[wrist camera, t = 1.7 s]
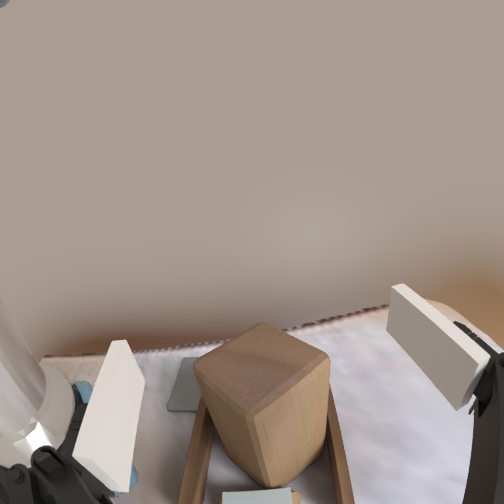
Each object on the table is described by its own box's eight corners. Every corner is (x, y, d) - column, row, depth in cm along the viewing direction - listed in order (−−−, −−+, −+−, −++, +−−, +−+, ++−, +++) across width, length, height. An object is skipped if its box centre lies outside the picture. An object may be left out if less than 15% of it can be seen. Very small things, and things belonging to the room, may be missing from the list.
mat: (168, 411, 42) (167, 408, 42) (184, 359, 55) (183, 357, 55) (249, 411, 41) (248, 409, 41) (252, 356, 54) (251, 354, 54)
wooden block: (276, 418, 39) (262, 316, 32) (326, 452, 31) (334, 352, 24) (225, 455, 33) (186, 359, 26) (273, 497, 26) (252, 419, 19)
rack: (191, 522, 22) (176, 511, 20) (209, 413, 41) (200, 392, 39) (348, 516, 21) (354, 505, 19) (328, 404, 40) (329, 382, 38)
